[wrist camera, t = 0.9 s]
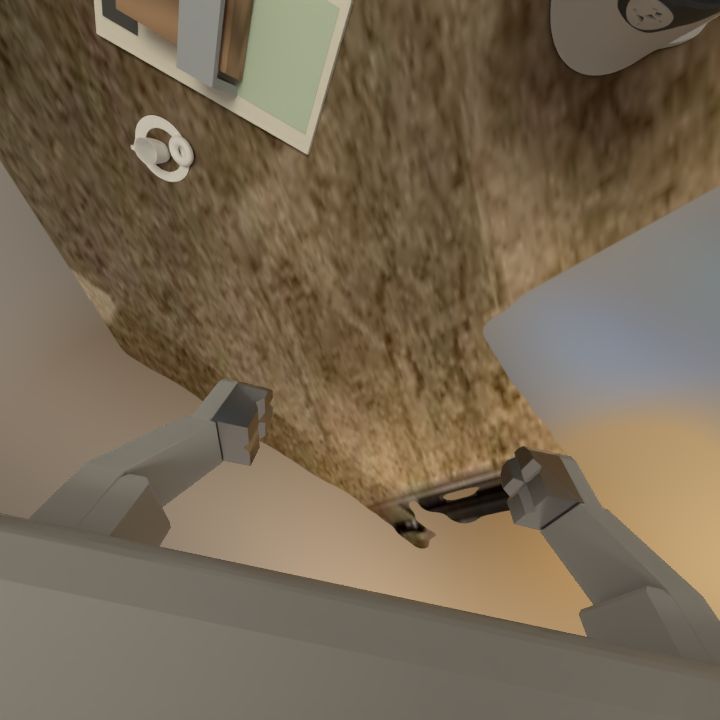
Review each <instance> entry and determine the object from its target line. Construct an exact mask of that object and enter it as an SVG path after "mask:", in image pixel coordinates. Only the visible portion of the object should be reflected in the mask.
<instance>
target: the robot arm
mask: <svg viewBox="0 0 720 720" xmlns="http://www.w3.org/2000/svg"><path fill="white" fill-rule="evenodd" d="M718 16H720V0H551V9H550V22H551V32H552V37H553V41H554V44H555V47H556V50H557V52H558V54H559V55H560V57H561V58H562V60H563V61H564V62H565V63H566V64H567V65H568V66H569V67H570V68H571V69H573V70H575V71H577V72H579V73H581V74H585V75H593V76H597V75H606V74H610V73H614V72H617V71H619V70H622V69H624V68H626V67H628V66H630V65H632V64H634V63H635V62H637V61H638V60H640V59H642V58H643V57H645V56H646V55H648V54H650V53H651V52H653V51H655V50H657V49H661V48H667V47H672V46H676V45H679V44H682V43H684V42H686V41H688V40H690V39H692V38H693V37H695V36H696V35H698V34H699V33H700V32H701V31H702V30H703V28H704V27H705V26H706V24H707V23H708V22H709V21H711V20H712V19H714V18H716V17H718ZM272 398H273V390H271V389H267V388H264V387H260V386H256V385H252V384H248V383H244V382H239V381H235V380H231V379H227V378H224V379H222V380H220V381H219V382H218V383H217V385H216V386H215V387H214V388H213V390H212V391H211V392H210V393H209V395H208V396H207V397H206V398H205V400H204V401H203V402H202V403H201V405H200V406H199V407H198V408H197V410H196V411H195V412H194V413H193V415H192V416H184V417H182V418H180V419H177V420H175V421H173V422H171V423H169V424H167V425H165V426H163V427H160V428H158V429H156V430H154V431H152V432H150V433H148V434H145V435H143V436H141V437H139V438H137V439H135V440H133V441H130V442H129V443H126V444H124V445H122V446H120V447H118V448H116V449H113V450H111V451H109V452H107V453H105V454H103V455H101V456H98V457H96V458H94V459H92V460H90V461H88V462H86V463H85V464H84V465H83V466H82V467H81V468H80V469H79V470H78V471H77V472H76V473H75V474H74V475H73V476H72V477H71V478H70V479H69V480H68V481H67V482H66V483H65V484H63V485H62V486H61V488H59V489H58V490H57V491H56V492H55V493H54V494H53V495H52V496H51V498H49V499H48V500H47V501H46V502H45V503H44V504H43V505H42V506H41V507H40V508H39V509H38V510H37V511H36V512H35V513H34V514H33V515H32V516H31V517H30V518H29V519H27V518H22V517H17V516H13V515H8V514H3V513H0V720H720V621H719V619H718V618H717V617H716V615H715V614H714V612H713V611H712V609H711V608H710V607H709V605H708V603H707V602H706V600H705V599H704V598H703V596H701V594H699V593H698V592H697V591H696V590H695V589H694V588H693V587H692V586H691V585H690V584H689V583H687V582H686V581H685V580H684V579H683V578H682V577H681V576H680V575H679V574H678V573H677V572H675V571H674V570H673V569H672V568H671V567H670V566H669V565H668V564H667V563H666V562H665V561H663V560H662V559H661V558H660V557H659V556H658V555H657V554H656V553H655V552H654V551H652V550H651V549H650V548H649V547H648V546H647V545H646V544H645V543H644V542H643V541H641V539H639V538H638V537H637V536H636V535H635V534H634V533H633V532H632V531H631V530H630V529H629V528H627V527H626V526H625V525H624V524H623V523H622V522H621V521H620V520H619V519H618V518H616V517H615V516H614V515H613V514H612V513H611V512H610V511H609V510H608V509H604V508H602V506H601V504H600V503H599V501H598V499H597V498H596V496H595V494H594V492H593V490H592V489H591V487H590V485H589V483H588V482H587V480H586V478H585V477H584V475H583V473H582V471H581V469H580V468H579V466H578V464H577V463H576V461H575V460H574V459H573V458H572V457H571V456H566V455H561V454H557V453H552V452H548V451H544V450H539V449H534V448H530V447H525V446H523V447H520V448H518V449H517V450H516V451H515V452H514V453H515V458H512V459H509V460H507V461H506V463H505V464H504V465H503V466H502V471H501V482H502V486H503V489H504V490H505V491H506V492H507V493H508V495H509V496H510V497H509V500H508V506H509V509H510V512H511V515H512V519H513V522H514V524H518V525H521V526H525V527H529V528H533V529H537V530H541V531H540V532H541V534H542V535H543V536H544V537H545V539H546V540H547V542H548V543H549V544H550V546H551V547H552V548H553V550H554V551H555V553H556V554H557V555H558V557H559V558H560V560H561V561H562V562H563V564H564V565H565V566H566V568H567V569H568V570H569V572H570V573H571V575H572V576H573V577H574V579H575V580H576V581H577V583H578V584H579V586H580V587H581V588H582V590H583V591H584V592H585V594H586V595H587V596H588V598H589V599H590V601H591V602H592V603H593V606H590V607H587V608H584V609H582V610H581V611H580V613H579V616H580V618H581V621H582V624H583V627H584V629H585V632H586V635H587V637H585V636H580V635H576V634H571V633H566V632H561V631H557V630H552V629H547V628H542V627H538V626H532V625H528V624H523V623H518V622H514V621H509V620H504V619H500V618H495V617H490V616H486V615H481V614H476V613H471V612H467V611H462V610H457V609H452V608H448V607H443V606H438V605H434V604H428V603H424V602H419V601H415V600H410V599H405V598H401V597H396V596H391V595H386V594H382V593H377V592H372V591H367V590H363V589H357V588H353V587H349V586H344V585H339V584H334V583H330V582H325V581H320V580H315V579H311V578H306V577H301V576H296V575H292V574H287V573H282V572H277V571H273V570H268V569H263V568H259V567H254V566H249V565H244V564H240V563H235V562H230V561H226V560H221V559H216V558H211V557H206V556H202V555H197V554H192V553H187V552H183V551H178V550H174V549H169V548H164V547H159V546H160V545H161V543H162V541H163V540H164V538H165V536H166V535H167V533H168V531H169V530H170V528H171V527H170V522H169V520H168V518H167V516H166V514H165V512H164V510H163V508H162V507H163V506H165V505H166V504H167V503H169V502H170V501H171V500H173V499H174V498H175V497H177V496H178V495H179V494H181V493H182V492H183V491H185V490H186V489H187V488H189V487H190V486H191V485H193V484H194V483H195V482H197V481H198V480H199V479H201V478H202V477H203V476H205V475H206V474H207V473H209V472H210V471H211V470H213V469H214V468H215V467H217V466H218V465H219V464H221V463H222V460H223V461H228V462H233V463H238V464H244V465H249V466H251V464H252V462H253V460H254V458H255V456H256V454H257V451H258V449H259V447H260V446H259V439H260V438H262V437H264V436H265V435H266V433H267V431H268V428H269V425H270V422H271V419H272V413H273V407H272V406H271V405H270V402H271V400H272Z"/></svg>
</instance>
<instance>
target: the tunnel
mask: <svg viewBox="0 0 720 720" xmlns="http://www.w3.org/2000/svg"><path fill="white" fill-rule="evenodd" d="M224 8H225V0H179V17H178V42H177V68H178V69H180V70H182V71H184V72H185V73H187V74H189V75H190V76H192V77H194V78H196V79H197V80H199V81H201V82H202V83H204V84H206V85H208V86H209V87H211V88H213V89H216V90H219V91H222V92H225V93H228V94H230V95H233V96H236V97H237V89H238V87H237V86H235V85H234V84H232V83H230V82H229V81H227V80H225V79H224V78H222V77H220V76H219V75H217V74H218V64H219V55H220V45H221V36H222V26H223V17H224Z"/></svg>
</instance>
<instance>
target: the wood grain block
mask: <svg viewBox="0 0 720 720" xmlns="http://www.w3.org/2000/svg"><path fill="white" fill-rule="evenodd" d="M252 7H253V0H225V8H224V17H223V26H222V36H221V45H220V55H219V64H218V70H220V71H222V72H223V73H225V74H227V75H229V76H231V77H233V78H236V79H238V80H240V81H242V75H243V68H244V61H245V54H246V48H247V41H248V34H249V27H250V20H251V13H252ZM116 9H117V10H119V11H121V12H122V13H124V14H126V15H127V16H129V17H131V18H133V19H134V20H136V21H138V22H139V23H141V24H143V25H144V26H146V27H148V28H149V29H151V30H153V31H154V32H156V33H158V34H159V35H161V36H163V37H164V38H166V39H168V40H169V41H171V42H173V43H174V44H176V45H177V42H178V17H179V0H116Z"/></svg>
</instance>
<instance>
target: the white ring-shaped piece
mask: <svg viewBox="0 0 720 720" xmlns="http://www.w3.org/2000/svg"><path fill="white" fill-rule="evenodd" d="M152 128H161V129H163V130H165V131H167V132H168V133H169V134H170V135H171V136H172V137H171V138H170V140H169V148H168V147H167V146H166V145H165V144H164V143H163V142H161V141H159V140H156V139H152V138H146V134H147V132H148V131H149V130H150V129H152ZM131 149H132V150H135V152H136V154H137V156H138V157H139V158H140V159H141V160H142V161H143V162H144V163H145V164H146V165H147V167H148V168H149V169H150V170H151V171H152V172H153V173H154V174H155V175H157V176H158V177H160V178H161V179H163V180H166V181H169V182H178V181H181V180H182V179H184V178H185V177H186V175H187V173H188V171H189V166H190V165H191V164H192V163H193V160H194V154H193V150H192V148H191V146H190V144H189V143H188V141H187V140H186V139H184V138H183V137H182V136H181V135H180V133H179V132H178V131H177V129H176V128H175V127H174V126H173V125H172V124H171V123H169V122H168V121H167V120H165V119H163V118H161V117H159V116H155V115H149V116H145V117H143V118H142V119H141V120H140V121H139V122H138V124H137V127H136V132H135V141H134V145H131ZM179 149H180V152H181V155H180V153H179ZM170 153H171V154H170ZM170 155H171V156H172V157H173V159H174V160H175V161H176V162H177V163H178V164H179V165H180V167H179V169H178V170H176V171H174V172H167V171H164V170H162V169H161V168H159V167H158V166H157V165H156V164H160V163H164V162H167V161H168V160H169V159H170Z"/></svg>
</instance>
